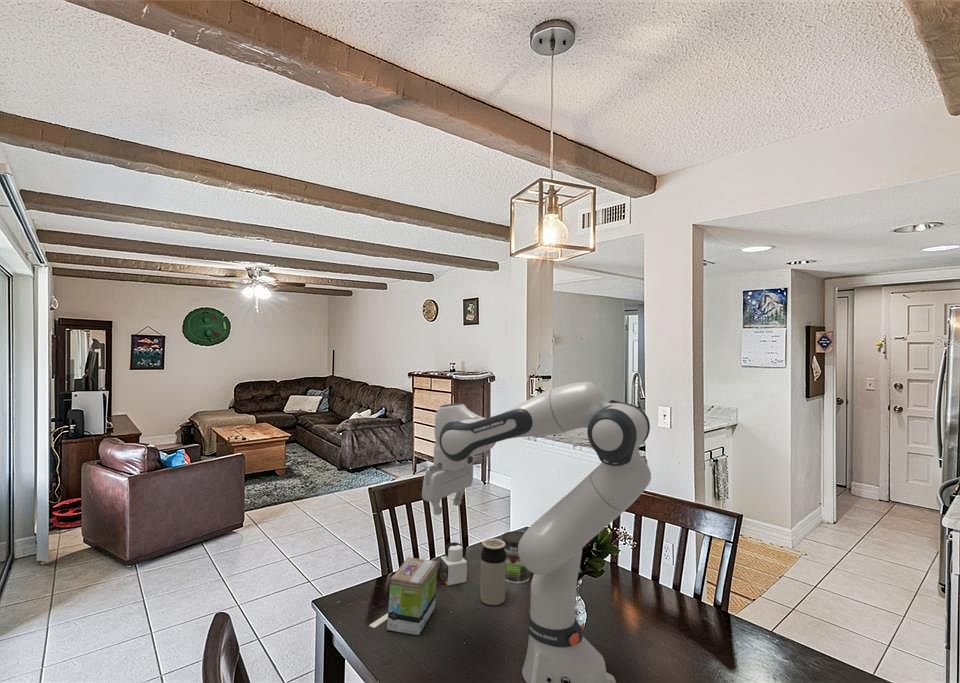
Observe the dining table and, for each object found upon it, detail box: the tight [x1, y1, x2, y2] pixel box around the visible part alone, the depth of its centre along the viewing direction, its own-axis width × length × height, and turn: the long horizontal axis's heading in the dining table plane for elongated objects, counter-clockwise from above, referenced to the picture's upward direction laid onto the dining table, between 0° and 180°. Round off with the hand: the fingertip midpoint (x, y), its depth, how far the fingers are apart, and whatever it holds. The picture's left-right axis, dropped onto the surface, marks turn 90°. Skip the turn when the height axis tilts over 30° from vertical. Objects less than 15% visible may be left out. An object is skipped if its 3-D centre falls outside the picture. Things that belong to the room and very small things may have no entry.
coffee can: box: [501, 530, 531, 585], centre depth 171 cm, size 10×10×14 cm
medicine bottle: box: [439, 541, 468, 586], centre depth 168 cm, size 7×7×12 cm
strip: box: [368, 612, 388, 629], centre depth 146 cm, size 2×17×1 cm, turn 149°
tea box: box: [386, 556, 438, 636], centre depth 143 cm, size 15×10×15 cm
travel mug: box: [479, 538, 506, 606], centre depth 155 cm, size 8×8×18 cm
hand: (447, 509), depth 137 cm, fingers open, 8 cm apart
